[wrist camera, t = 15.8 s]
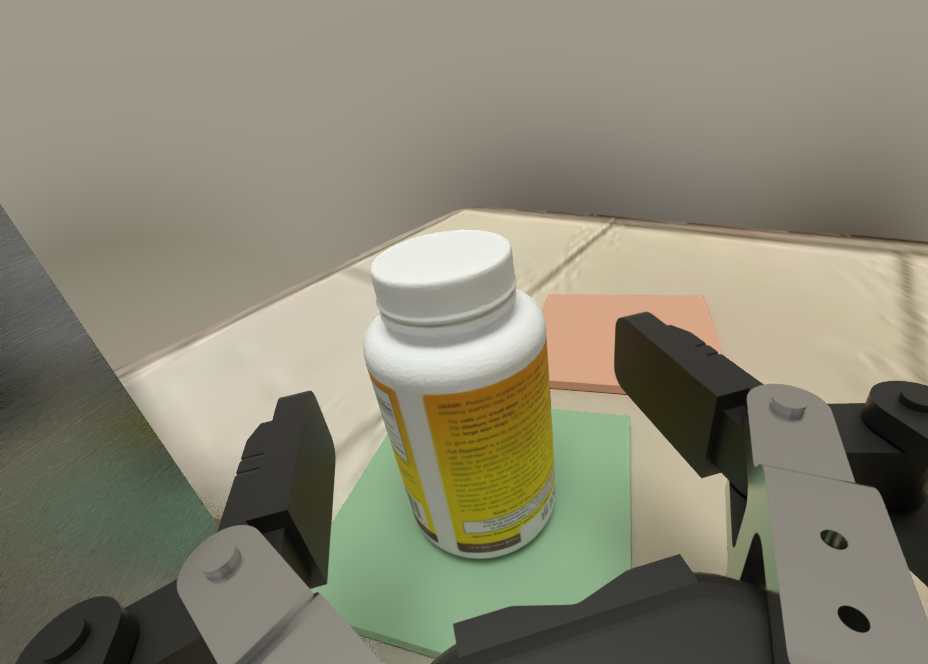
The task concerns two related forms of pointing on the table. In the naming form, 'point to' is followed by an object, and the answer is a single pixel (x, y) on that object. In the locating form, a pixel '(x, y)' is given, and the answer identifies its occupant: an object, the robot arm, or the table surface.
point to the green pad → (489, 579)
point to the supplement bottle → (464, 390)
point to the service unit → (75, 467)
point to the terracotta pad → (608, 333)
